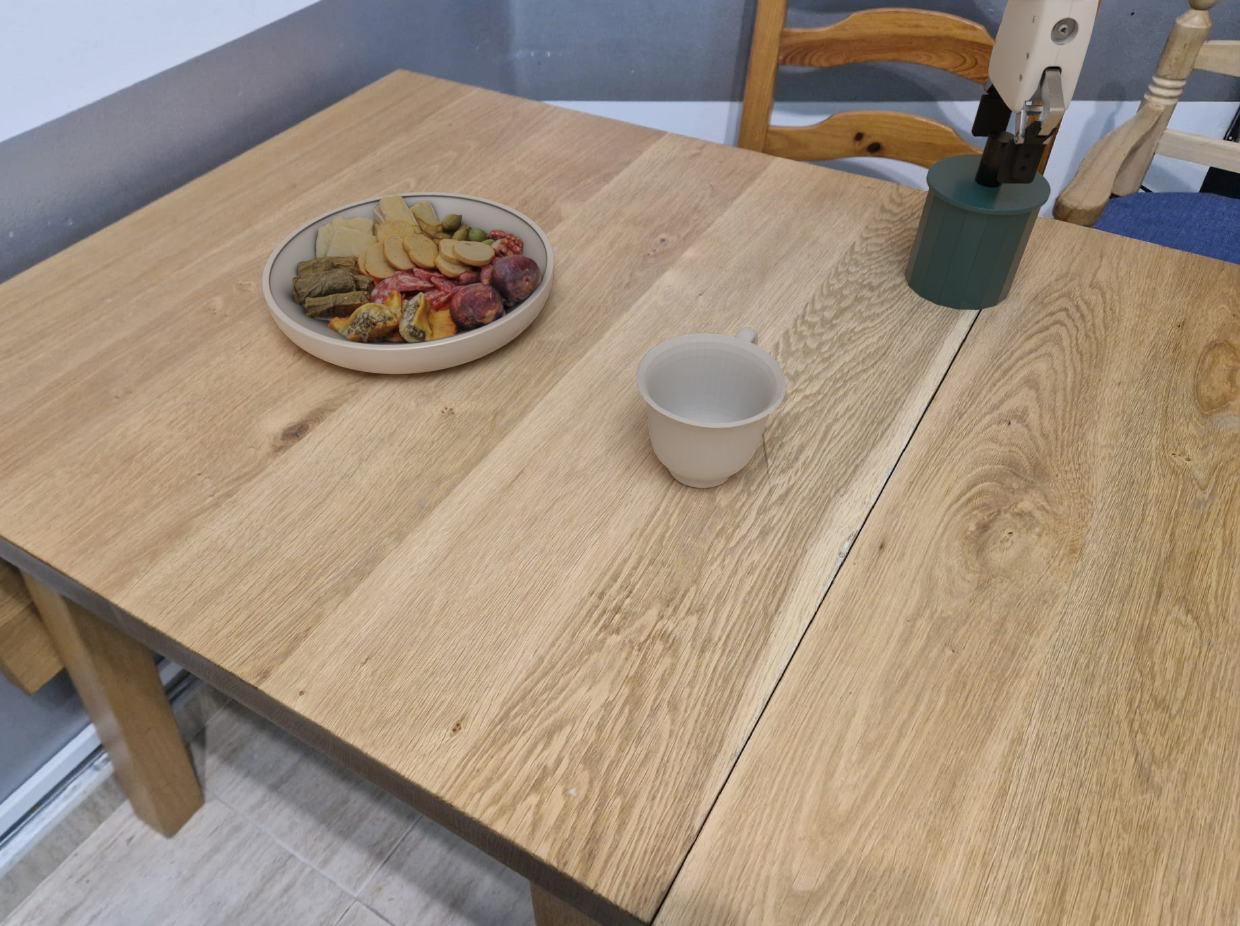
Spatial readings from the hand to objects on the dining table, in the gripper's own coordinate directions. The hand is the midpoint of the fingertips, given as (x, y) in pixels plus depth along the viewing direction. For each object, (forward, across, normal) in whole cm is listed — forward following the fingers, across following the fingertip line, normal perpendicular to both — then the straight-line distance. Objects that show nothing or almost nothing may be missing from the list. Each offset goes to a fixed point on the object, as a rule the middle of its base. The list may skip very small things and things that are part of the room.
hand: (1000, 158), depth 91 cm
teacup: (+15, -28, +28) cm, 42 cm away
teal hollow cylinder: (+14, 0, 0) cm, 15 cm away
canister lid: (+3, 0, 0) cm, 3 cm away
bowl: (+14, -5, +58) cm, 60 cm away
